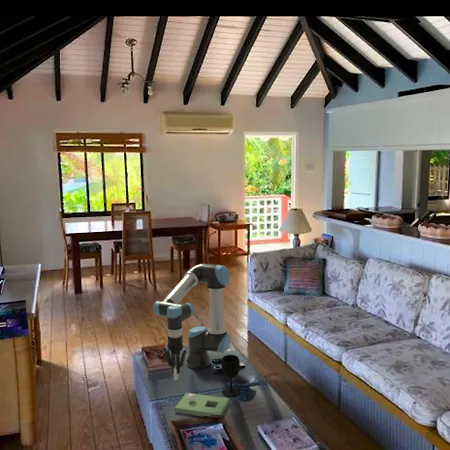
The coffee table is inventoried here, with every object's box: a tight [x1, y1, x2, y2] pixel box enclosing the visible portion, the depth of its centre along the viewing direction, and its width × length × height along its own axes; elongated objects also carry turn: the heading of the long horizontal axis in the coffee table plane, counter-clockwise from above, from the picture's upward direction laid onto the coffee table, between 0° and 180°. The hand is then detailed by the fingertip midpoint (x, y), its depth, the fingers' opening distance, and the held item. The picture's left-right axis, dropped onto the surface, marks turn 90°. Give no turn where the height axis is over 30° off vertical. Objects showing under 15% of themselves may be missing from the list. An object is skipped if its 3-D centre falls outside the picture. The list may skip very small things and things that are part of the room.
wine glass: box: [220, 354, 241, 398], centre depth 260 cm, size 10×10×20 cm
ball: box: [188, 393, 195, 402], centre depth 247 cm, size 4×4×4 cm
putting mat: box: [174, 392, 230, 417], centre depth 246 cm, size 16×24×2 cm, turn 73°
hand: (176, 378), depth 248 cm, fingers closed
